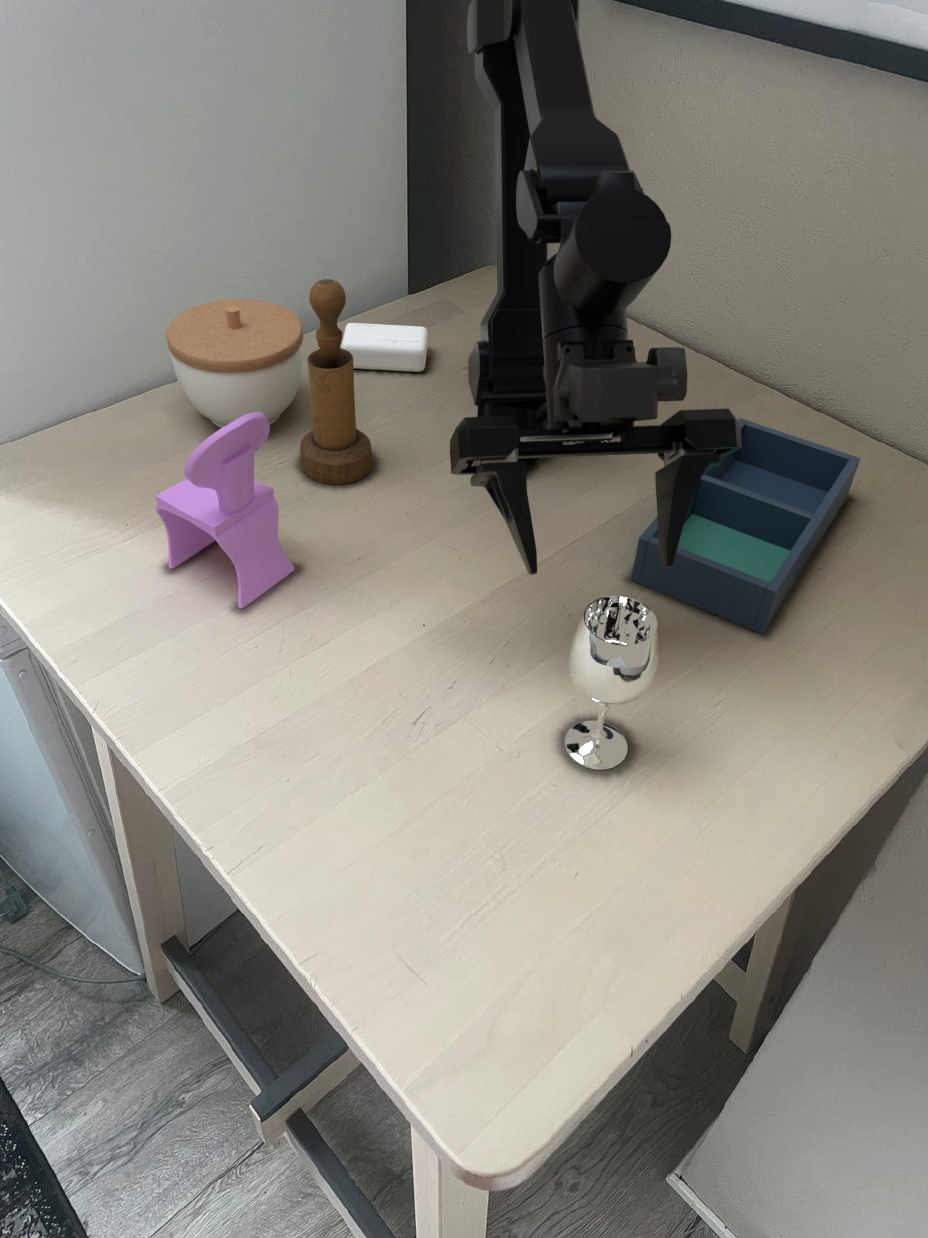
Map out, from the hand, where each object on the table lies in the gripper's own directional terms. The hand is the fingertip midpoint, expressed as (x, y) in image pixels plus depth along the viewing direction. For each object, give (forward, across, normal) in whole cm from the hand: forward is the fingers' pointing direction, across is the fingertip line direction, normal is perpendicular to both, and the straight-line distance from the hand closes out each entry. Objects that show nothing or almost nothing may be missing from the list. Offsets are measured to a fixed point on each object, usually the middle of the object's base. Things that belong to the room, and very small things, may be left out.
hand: (600, 570), depth 68 cm
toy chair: (-3, -26, +20) cm, 33 cm away
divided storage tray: (-4, +18, +20) cm, 28 cm away
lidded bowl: (-20, -26, +37) cm, 49 cm away
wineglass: (+12, 0, +5) cm, 13 cm away
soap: (-28, -11, +44) cm, 53 cm away
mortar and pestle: (-14, -17, +30) cm, 37 cm away
